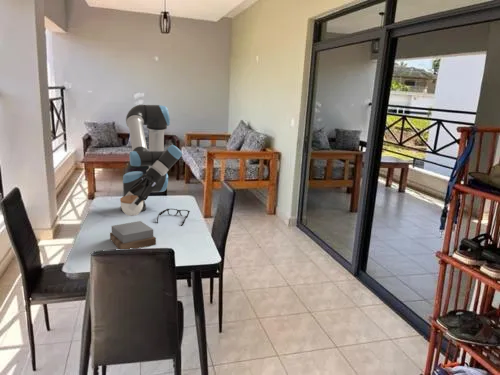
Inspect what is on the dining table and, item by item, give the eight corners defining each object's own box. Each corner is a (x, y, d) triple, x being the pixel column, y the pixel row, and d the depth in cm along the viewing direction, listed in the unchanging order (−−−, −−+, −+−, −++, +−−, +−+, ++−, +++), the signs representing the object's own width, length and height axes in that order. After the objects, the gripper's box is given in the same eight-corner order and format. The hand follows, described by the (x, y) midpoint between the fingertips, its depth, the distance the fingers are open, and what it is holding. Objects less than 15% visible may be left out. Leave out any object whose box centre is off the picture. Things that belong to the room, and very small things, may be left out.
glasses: (192, 218, 236) (192, 210, 235) (183, 226, 218) (183, 218, 217) (165, 215, 238) (165, 207, 237) (155, 223, 220) (155, 215, 219)
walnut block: (110, 240, 194) (109, 232, 194) (143, 234, 204) (143, 227, 203) (121, 252, 181) (120, 244, 180) (155, 245, 191) (155, 238, 190)
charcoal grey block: (111, 233, 192) (111, 225, 192) (140, 228, 202) (140, 220, 201) (123, 243, 181) (123, 235, 180) (153, 237, 191) (153, 229, 190)
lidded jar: (120, 217, 182) (119, 198, 180) (121, 210, 192) (120, 192, 190) (144, 216, 185) (143, 197, 183) (143, 210, 195) (143, 191, 193)
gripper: (171, 181, 184) (140, 217, 179) (153, 172, 203) (124, 204, 197) (161, 171, 180) (128, 208, 175) (143, 162, 198) (113, 195, 193)
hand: (126, 206), depth 186 cm, fingers closed on lidded jar, 11 cm apart
